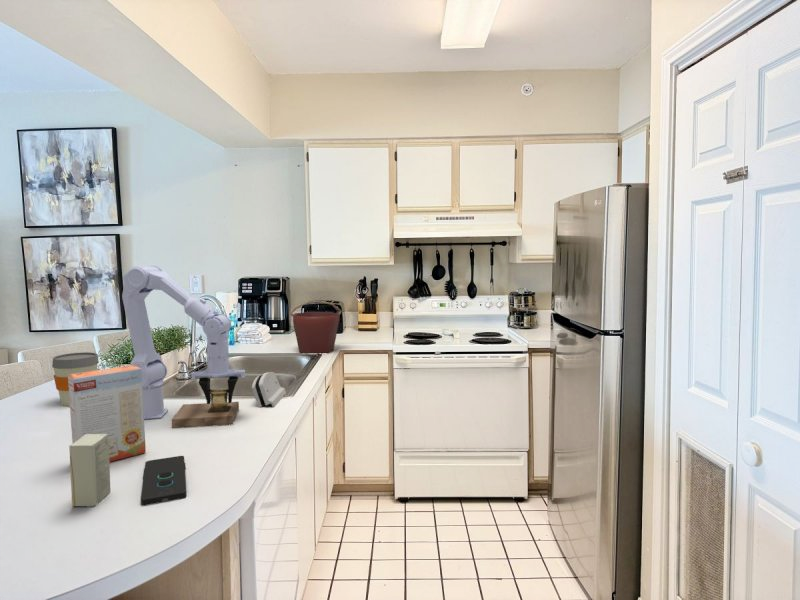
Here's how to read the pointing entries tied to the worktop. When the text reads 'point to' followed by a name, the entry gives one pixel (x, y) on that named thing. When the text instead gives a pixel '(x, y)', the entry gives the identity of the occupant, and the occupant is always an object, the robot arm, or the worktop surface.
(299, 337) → the bucket
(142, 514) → the worktop surface
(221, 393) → the bushing
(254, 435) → the worktop surface
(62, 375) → the reusable coffee cup
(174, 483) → the smart home device
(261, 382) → the grey piece
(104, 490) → the skincare box
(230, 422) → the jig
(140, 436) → the cracker box
